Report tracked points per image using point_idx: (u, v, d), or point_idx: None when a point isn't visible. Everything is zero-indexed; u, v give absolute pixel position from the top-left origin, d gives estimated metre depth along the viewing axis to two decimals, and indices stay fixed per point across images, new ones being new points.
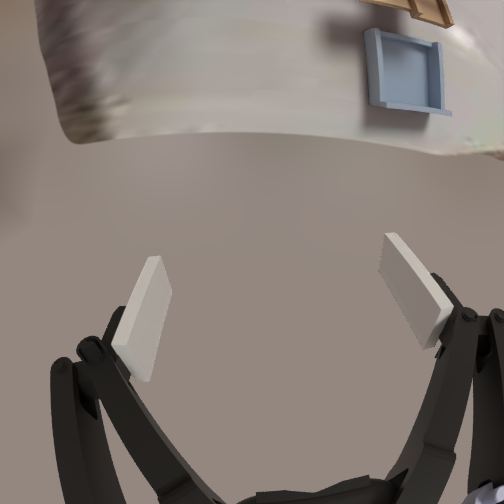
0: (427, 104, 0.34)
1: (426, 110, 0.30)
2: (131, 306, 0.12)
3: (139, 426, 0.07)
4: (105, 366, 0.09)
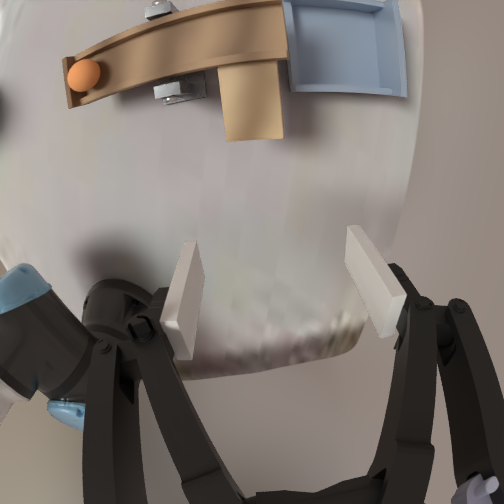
0: (370, 14, 0.22)
1: (401, 39, 0.20)
2: (175, 286, 0.13)
3: (178, 409, 0.08)
4: (152, 345, 0.10)
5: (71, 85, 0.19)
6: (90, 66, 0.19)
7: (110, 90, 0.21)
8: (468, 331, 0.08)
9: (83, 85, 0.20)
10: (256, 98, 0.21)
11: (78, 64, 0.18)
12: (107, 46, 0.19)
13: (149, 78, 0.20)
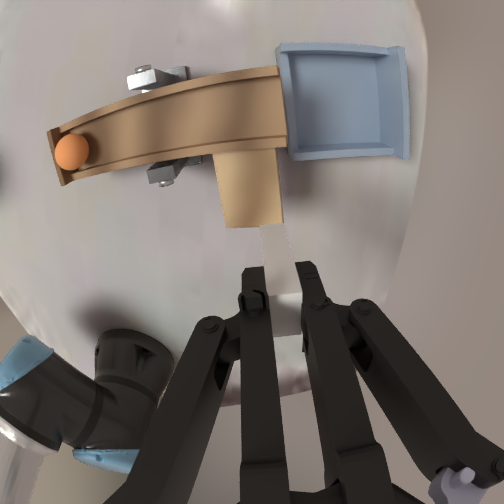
0: (372, 59, 0.24)
1: (406, 95, 0.21)
2: (269, 263, 0.14)
3: (266, 391, 0.08)
4: (260, 321, 0.11)
5: (60, 165, 0.21)
6: (77, 144, 0.20)
7: (101, 170, 0.23)
8: (381, 332, 0.09)
9: (72, 166, 0.21)
10: (255, 186, 0.22)
11: (64, 143, 0.20)
12: (93, 119, 0.21)
13: (141, 162, 0.22)
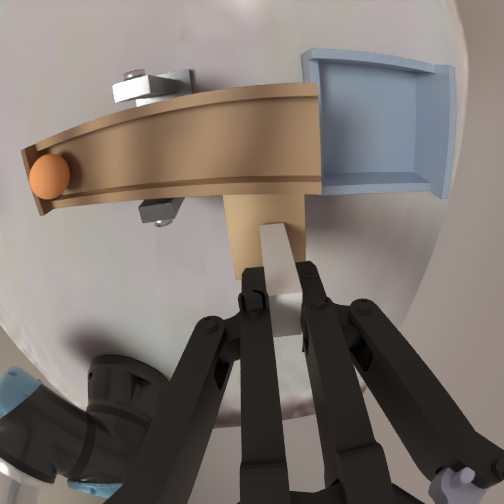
0: (412, 75, 0.19)
1: (453, 125, 0.17)
2: (269, 264, 0.14)
3: (266, 392, 0.08)
4: (260, 321, 0.11)
5: (36, 194, 0.16)
6: (54, 170, 0.16)
7: (85, 201, 0.18)
8: (381, 332, 0.09)
9: (49, 195, 0.17)
10: None
11: (38, 168, 0.15)
12: None
13: (131, 197, 0.17)
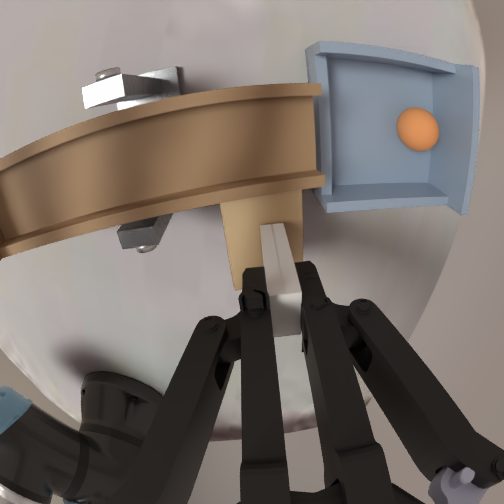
0: (429, 75, 0.17)
1: (476, 133, 0.14)
2: (270, 263, 0.14)
3: (266, 391, 0.08)
4: (261, 321, 0.11)
5: (399, 136, 0.18)
6: (425, 126, 0.16)
7: (47, 239, 0.13)
8: (381, 332, 0.09)
9: (412, 146, 0.18)
10: None
11: (411, 116, 0.16)
12: None
13: (114, 222, 0.14)
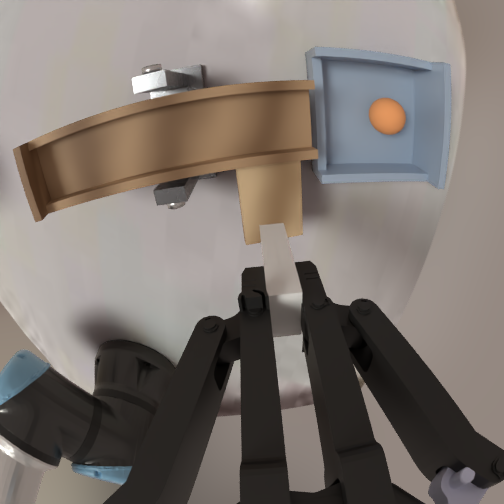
0: (411, 72, 0.20)
1: (448, 118, 0.18)
2: (269, 263, 0.14)
3: (266, 392, 0.08)
4: (260, 321, 0.11)
5: None
6: (377, 111, 0.21)
7: (94, 195, 0.18)
8: (381, 332, 0.09)
9: (375, 128, 0.22)
10: (279, 199, 0.22)
11: (372, 103, 0.21)
12: None
13: (153, 181, 0.19)
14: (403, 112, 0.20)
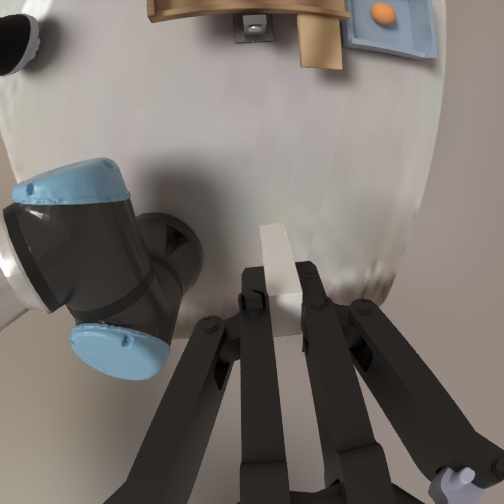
0: None
1: (432, 15, 0.20)
2: (269, 264, 0.14)
3: (266, 391, 0.08)
4: (260, 321, 0.11)
5: None
6: (371, 9, 0.24)
7: (201, 8, 0.20)
8: (381, 332, 0.09)
9: None
10: (326, 40, 0.24)
11: None
12: None
13: (247, 6, 0.20)
14: (387, 7, 0.22)
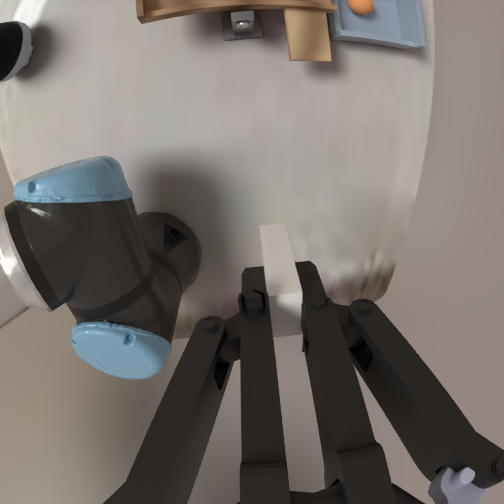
0: None
1: (418, 4, 0.20)
2: (269, 263, 0.14)
3: (266, 391, 0.08)
4: (260, 321, 0.11)
5: None
6: None
7: (189, 7, 0.20)
8: (381, 332, 0.09)
9: None
10: (313, 33, 0.25)
11: None
12: None
13: (234, 3, 0.21)
14: None
